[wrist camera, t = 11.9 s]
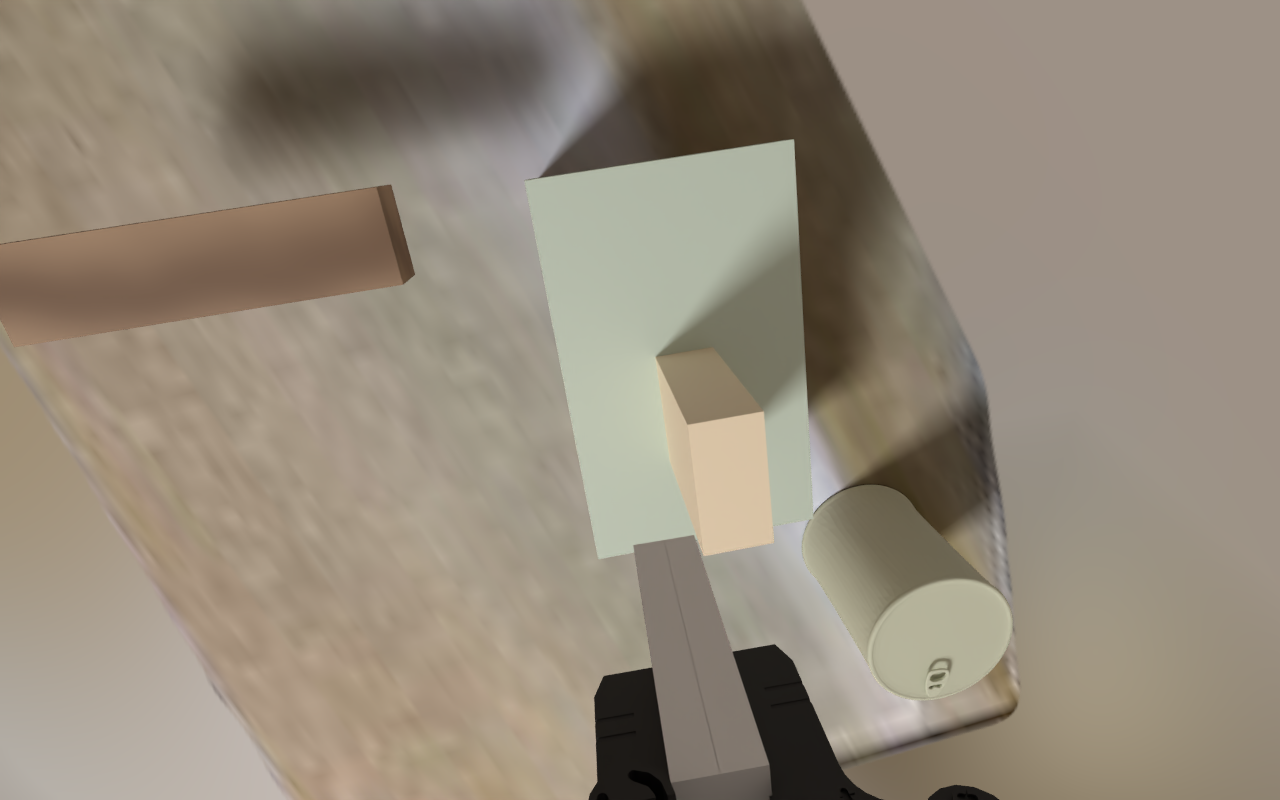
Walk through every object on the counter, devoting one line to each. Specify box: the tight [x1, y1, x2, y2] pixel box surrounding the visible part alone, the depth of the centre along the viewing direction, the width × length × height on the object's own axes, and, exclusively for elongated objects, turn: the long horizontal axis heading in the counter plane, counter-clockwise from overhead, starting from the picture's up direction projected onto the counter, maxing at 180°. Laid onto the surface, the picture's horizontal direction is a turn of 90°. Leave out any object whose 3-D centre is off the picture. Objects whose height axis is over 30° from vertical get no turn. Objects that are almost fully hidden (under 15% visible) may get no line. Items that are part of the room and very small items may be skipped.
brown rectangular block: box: [0, 185, 415, 347], centre depth 28 cm, size 4×16×2 cm, turn 98°
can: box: [802, 485, 1013, 700], centre depth 45 cm, size 9×9×12 cm
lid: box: [524, 139, 813, 559], centre depth 30 cm, size 21×13×10 cm, turn 8°
